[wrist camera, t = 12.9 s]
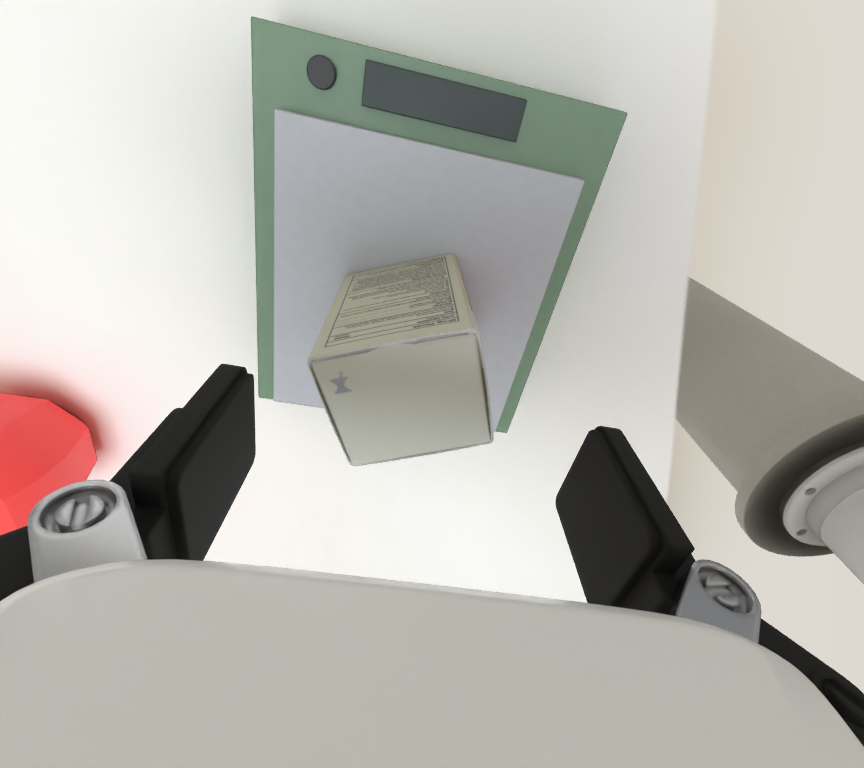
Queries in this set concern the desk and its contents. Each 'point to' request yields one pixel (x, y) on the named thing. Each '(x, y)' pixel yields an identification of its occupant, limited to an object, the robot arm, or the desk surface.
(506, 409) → the scale
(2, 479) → the apple
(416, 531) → the desk surface
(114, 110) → the desk surface
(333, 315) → the small box
